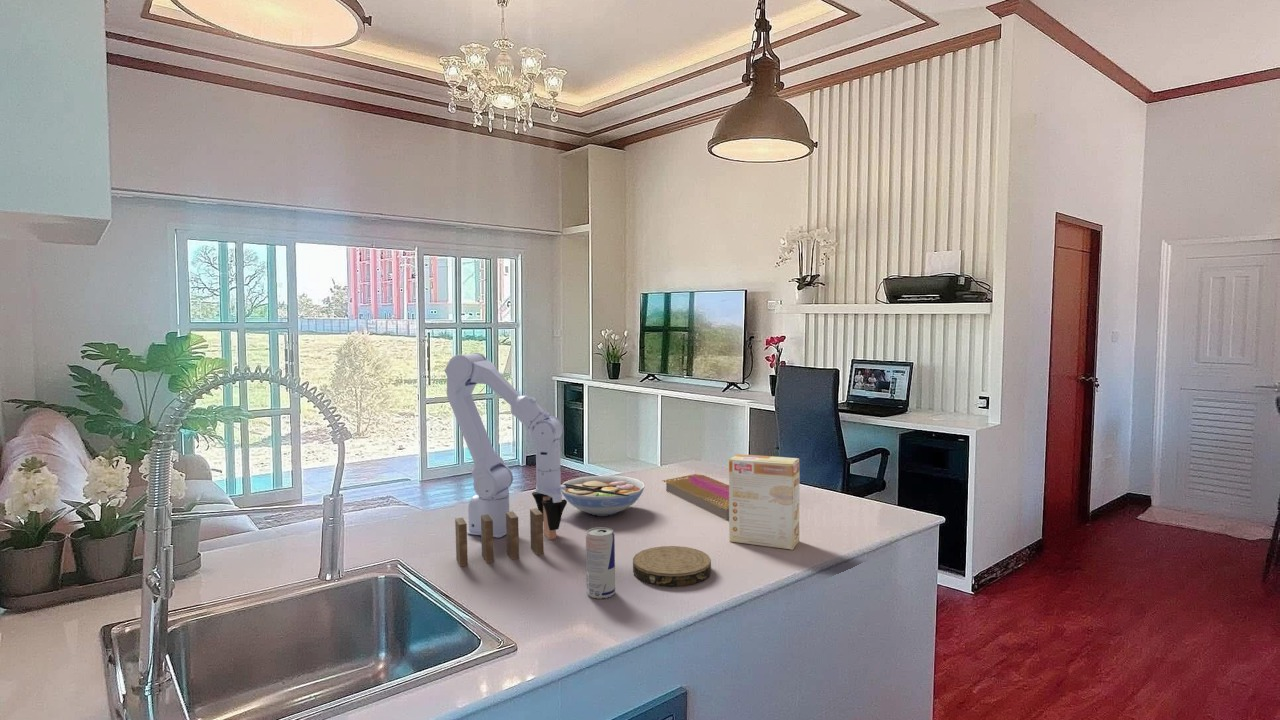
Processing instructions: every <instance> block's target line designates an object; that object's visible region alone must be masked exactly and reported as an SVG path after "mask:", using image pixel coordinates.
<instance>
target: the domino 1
mask: <svg viewBox="0 0 1280 720" xmlns="http://www.w3.org/2000/svg"><path fill="white" fill-rule="evenodd" d="M454 523H455V525H454V526H455V552H456V553H455V556H456V562H457V563H458V565H459V567H467V566H468V565H469V563H468V562H469V561H468V534H467V531H468V529H467V528H468V523H467V522H466V520H465V519H464V517H457V518H456V517H455V520H454Z"/></svg>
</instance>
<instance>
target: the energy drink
mask: <svg viewBox="0 0 1280 720" xmlns="http://www.w3.org/2000/svg"><path fill="white" fill-rule="evenodd" d="M615 540H616V539H615V533H614V530H613V529H612V528H609V527H603V526H602V527H601V526H599V527H593V528H590V529H588V530H587V531H586V535H585V552H586V553H585V556H586V557H585V558H586V560H585V561H586V562H585V563H586V570H585V571H586V594H587V596H588V597H590V598H591V599H595V598H597V599H598V600H603V599H602V598H605V599H608V597H609V598H611V597H613V596H614V595H615V593H616V560H615V557H616V554H615V551H616V548H615V546H616V545H615V544H616V543H615ZM612 595H613V596H612Z"/></svg>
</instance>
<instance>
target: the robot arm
mask: <svg viewBox="0 0 1280 720" xmlns="http://www.w3.org/2000/svg"><path fill="white" fill-rule="evenodd" d="M444 373H445V374H446V396H447V400H448V401H449V405H450V407H451V409H452V411H453V414H454V417H455V419H456V421H457V424H458V426H459V429H460V431H461V434H462V437H463V438H464V441H465V444H466V446H467V448H468V450H469V454H470V456H471V459H472V461H473V465H472V468H471V475H472V478H473V490H474V492H475V493H476V494H474V495H473V496H472V497H470V498H471V499H469V503H468V509H467V510H468V530H467V535H475V536H481V515H487V514H488V515H489V516H490V517H491V519H492V520H493V538H498V539H499V538H502V537H504V536H506V512H510V492H509V491H510V489H509V488H510V487H511V486H512V484H513V482H514V475H513V472H512V470H511V468H510V467H508V466H507V465H506V463H505V462H504V459H503V458H502V457H501V456H499V455H498V454H496V453H495V450H494V448H493V445H492V442H491V439H490V437H489V435H488V432H487V430H486V428H485V425H484V422H483V419H482V417H481V415H480V412H479V410H478V408H477V405H476V402H475V401H474V398H473V396H472V393H473V391H475V387H476V385H477V384H481V385H483V384H484V385H486V386H488V387H489V388H490V389H491V390H492V391H493V392H495V393H496V394H497V395H498V396H499V397H500V398H501V399H502V400H504V401H505V402H506V403H508V405H509V406H510V412H511V415H513V416H514V417H515V418H516V419H517V420H518V421H519V422H520V423H521V424H522V425H523V426H524V427H525V428H526V429H527V430H528V431H529V432H530V435H531V438H532V440H533V442H534V443H535V463H536V465H535V471H536V472H535V473H536V487H535V491H533V492H531V495H532V497H533V498H534V501H535V503H536V506H537V509H538V510H539V511H540V512H541V513H542V514H543V506H544V508H545V511H546V515H547V521H548V526H549V530H556V531H557V530H559V528H560V524H561V520H562V515H563V512H564V509H565V508H566V506H567V503H568V501H567V500H566V498H565V499H563V494H562V492H561V491H562V489H566V486H565V485H561V483H562V482H561V479H562V476H561V439H560V438H561V437H562V435H563V432H564V426H563V423H562V422H561V420H560V419H559V418H558V417H556V416H551V413H550V412H548V411H547V412H546V411H545V410H544V409H543V408H542V407H541V406H540V405H539V404H538V403H537V399H536V398H535V397H533V396H531V397H530V395H521V394H520V392H518V391H517V389H515V388H514V386H513V385H512V384H511V383H510V382H509V381H508V380H507V379H506V378H505V377H504V376H503V374H501V372H500V371H499V370H498V369H497V368H496V367H495V365H494V364H493V362H492V361H491V360H489V359H487V357H486V356H485V355H484V354H482V353H479V352H472V353H468V354H455V355H454V356H452V357H451V358H450V359H449V361H448V363H447V365H446V366H445V369H444ZM546 496H549V497H550V500H544V501H543V497H546Z"/></svg>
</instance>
